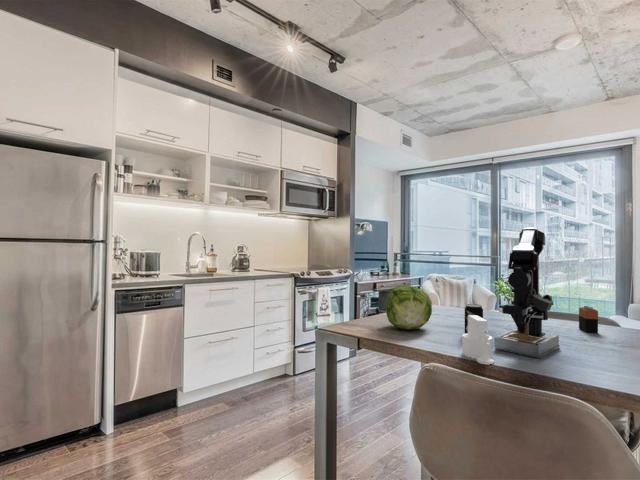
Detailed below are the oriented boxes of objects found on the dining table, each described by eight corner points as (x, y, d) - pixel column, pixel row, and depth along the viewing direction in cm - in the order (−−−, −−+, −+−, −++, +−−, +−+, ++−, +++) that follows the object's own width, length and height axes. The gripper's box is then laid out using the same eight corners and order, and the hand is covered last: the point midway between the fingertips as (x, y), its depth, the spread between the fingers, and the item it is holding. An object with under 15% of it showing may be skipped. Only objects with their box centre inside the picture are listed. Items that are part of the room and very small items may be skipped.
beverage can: (484, 338, 141) (484, 306, 141) (466, 337, 142) (466, 306, 142) (480, 334, 147) (481, 304, 147) (463, 333, 149) (463, 303, 149)
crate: (512, 341, 132) (512, 318, 132) (543, 348, 125) (543, 322, 125) (502, 346, 127) (502, 321, 127) (534, 352, 120) (534, 326, 120)
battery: (586, 332, 150) (586, 307, 150) (578, 329, 157) (578, 305, 157) (598, 333, 149) (598, 308, 149) (590, 329, 156) (590, 305, 156)
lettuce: (386, 336, 146) (394, 292, 144) (380, 316, 169) (387, 277, 167) (436, 344, 146) (444, 299, 143) (423, 322, 169) (430, 284, 166)
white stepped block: (458, 350, 126) (458, 315, 126) (485, 351, 126) (485, 315, 126) (468, 359, 117) (468, 320, 117) (497, 359, 117) (497, 321, 117)
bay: (516, 339, 140) (516, 327, 140) (559, 347, 129) (559, 335, 129) (493, 349, 127) (493, 336, 127) (539, 359, 117) (539, 345, 117)
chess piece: (473, 359, 117) (473, 327, 117) (489, 359, 117) (489, 327, 117) (481, 364, 112) (481, 331, 112) (497, 364, 112) (497, 331, 112)
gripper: (539, 291, 114) (539, 342, 114) (559, 286, 126) (559, 332, 126) (501, 287, 122) (501, 335, 122) (524, 283, 134) (524, 326, 134)
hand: (523, 332), depth 126 cm, fingers closed on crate, 2 cm apart
